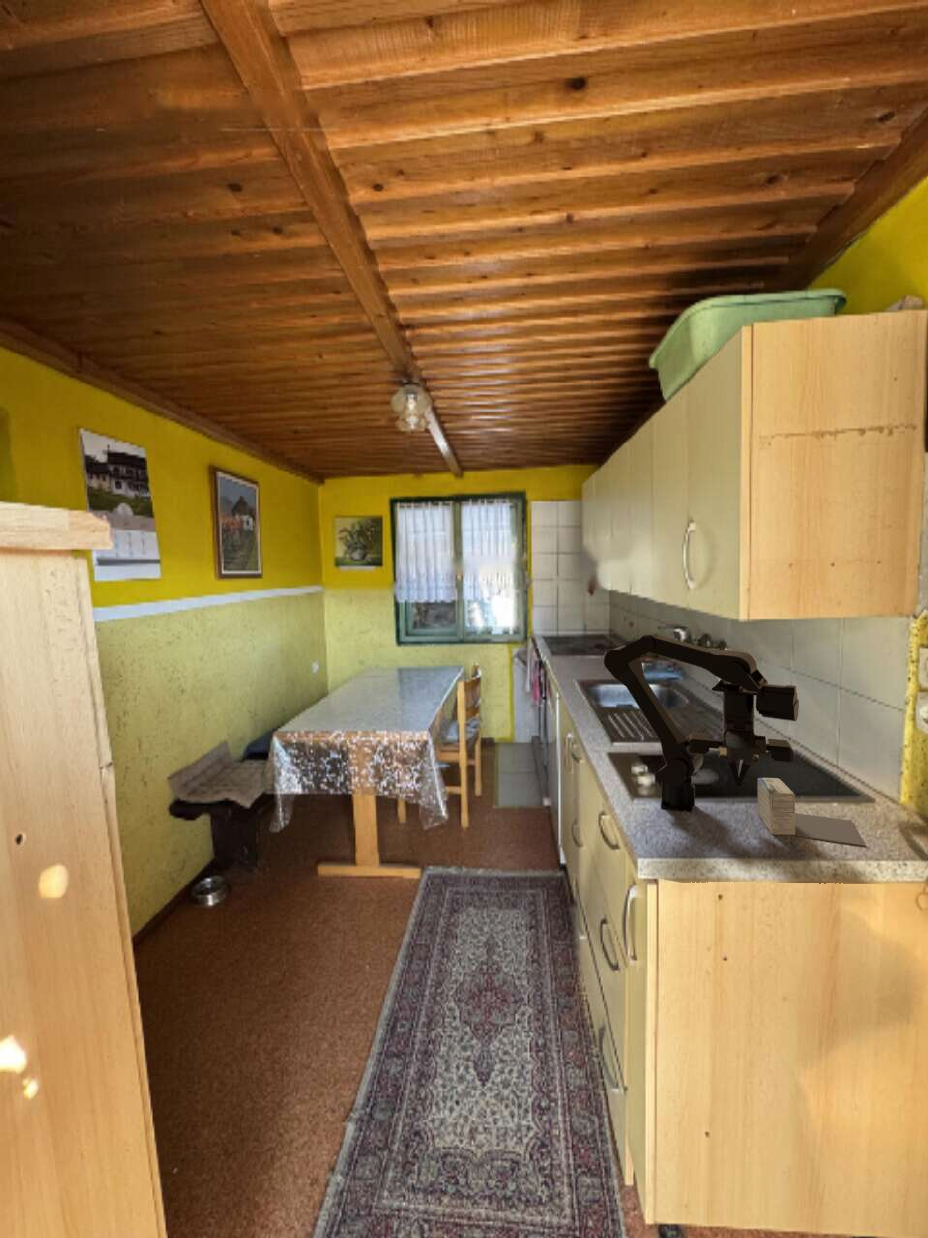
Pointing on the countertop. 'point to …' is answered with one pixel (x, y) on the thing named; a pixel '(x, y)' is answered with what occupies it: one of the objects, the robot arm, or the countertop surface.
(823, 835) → the mat
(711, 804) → the countertop surface
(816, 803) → the countertop surface
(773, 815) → the wooden block
